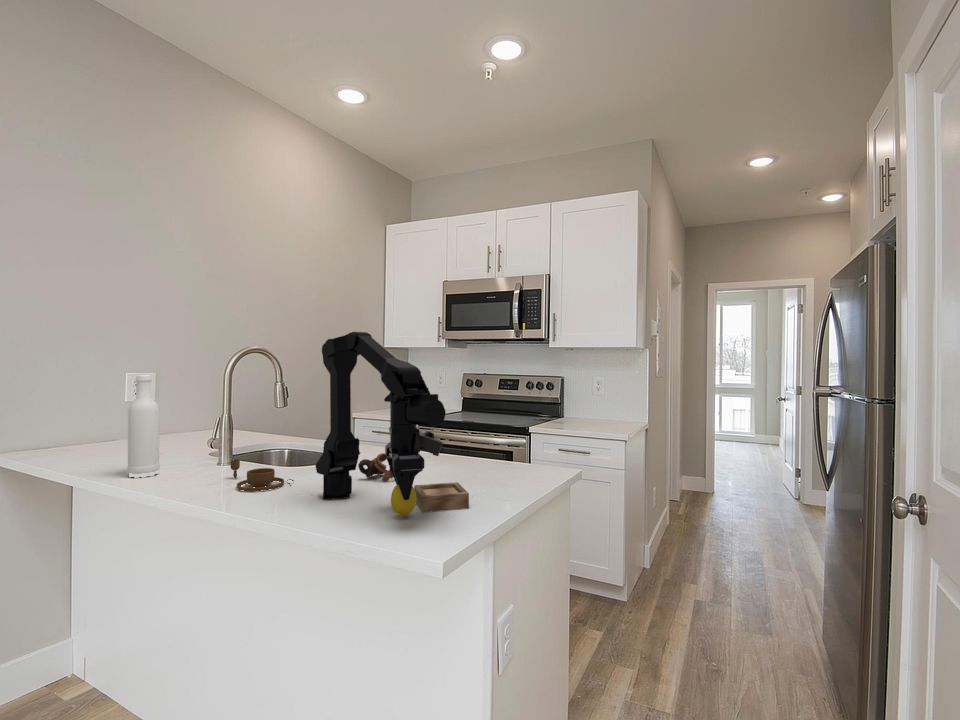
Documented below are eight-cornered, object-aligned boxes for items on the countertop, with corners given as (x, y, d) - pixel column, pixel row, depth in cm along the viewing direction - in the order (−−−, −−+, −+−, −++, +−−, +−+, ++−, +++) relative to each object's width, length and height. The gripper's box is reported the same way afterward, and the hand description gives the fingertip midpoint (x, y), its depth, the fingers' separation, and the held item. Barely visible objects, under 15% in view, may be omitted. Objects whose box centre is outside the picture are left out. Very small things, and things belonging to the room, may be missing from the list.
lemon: (392, 513, 113) (392, 478, 113) (416, 513, 113) (416, 477, 113) (389, 521, 107) (389, 484, 107) (415, 521, 108) (415, 483, 108)
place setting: (222, 497, 128) (221, 474, 128) (228, 480, 146) (227, 459, 146) (295, 490, 135) (295, 468, 135) (292, 474, 153) (292, 455, 153)
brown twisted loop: (391, 475, 153) (400, 453, 151) (395, 495, 145) (406, 473, 143) (352, 468, 148) (362, 445, 146) (355, 489, 140) (365, 466, 138)
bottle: (122, 479, 145) (122, 375, 145) (134, 473, 153) (134, 374, 153) (153, 477, 147) (153, 375, 147) (163, 471, 155) (163, 374, 155)
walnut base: (422, 512, 114) (422, 496, 114) (414, 499, 124) (414, 485, 124) (468, 508, 117) (468, 493, 117) (457, 495, 128) (457, 482, 128)
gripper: (448, 427, 104) (448, 503, 104) (431, 417, 121) (431, 481, 122) (394, 429, 100) (394, 507, 100) (384, 418, 118) (384, 484, 118)
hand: (403, 494), depth 110 cm, fingers open, 9 cm apart
